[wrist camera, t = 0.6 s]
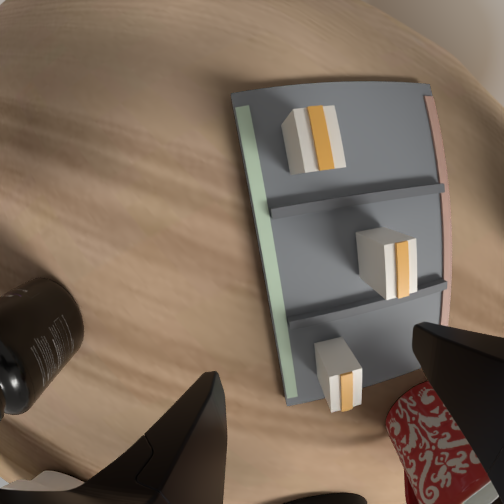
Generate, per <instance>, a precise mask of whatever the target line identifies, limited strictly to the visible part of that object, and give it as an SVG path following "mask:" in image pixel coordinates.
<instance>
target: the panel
mask: <svg viewBox="0 0 504 504" xmlns="http://www.w3.org/2000/svg"><path fill="white" fill-rule="evenodd" d="M231 100H232V105H233V111H234V116H235V121H236V127H237V132H238V137H239V142H240V148H241V153H242V159H243V164H244V169H245V175H246V180H247V185H248V191H249V196H250V202H251V207H252V213H253V218H254V224H255V229H256V235H257V240H258V246H259V251H260V257H261V262H262V268H263V274H264V279H265V285H266V290H267V296H268V302H269V307H270V313H271V319H272V324H273V330H274V336H275V341H276V347H277V353H278V359H279V364H280V370H281V376H282V382H283V388H284V394H285V399H286V404H287V406H291V405H296V404H301V403H306V402H310V401H315V400H319V399H323V398H325V395H324V393H323V390H322V388H321V385H320V383H319V380H318V377H317V368H316V358H315V348H314V343H317V342H321V341H326V340H330V339H334V338H338V337H343V339H344V340H345V342H346V343H347V345H348V347H349V348H350V350H351V351H352V353H353V354H354V356H355V358H356V359H357V361H358V362H359V364H360V365H361V367H362V388H364V387H367V386H370V385H374V384H377V383H380V382H383V381H386V380H389V379H392V378H395V377H398V376H401V375H404V374H406V373H409V372H412V371H414V370H417V369H420V368H421V366H420V364H419V362H418V360H417V358H416V357H415V355H414V353H413V350H412V335H413V327H414V325H415V324H418V323H421V322H430V323H434V324H439V325H443V326H448V321H449V310H450V298H451V279H452V225H451V207H450V194H449V184H448V175H447V167H446V159H445V152H444V146H443V140H442V134H441V129H440V124H439V119H438V114H437V110H436V105H435V101H434V97H433V96H432V92H431V88H430V84H422V83H407V82H381V81H352V82H325V83H310V84H298V85H287V86H278V87H270V88H262V89H255V90H248V91H242V92H236V93H231ZM319 105H323V106H331V105H334V106H335V110H336V115H337V120H338V124H339V129H340V134H341V140H342V145H343V150H344V156H345V162H346V167H344V168H336V169H329V170H321V171H314V172H307V173H301V174H294V175H290V170H289V165H288V159H287V154H286V148H285V143H284V138H283V133H282V128H281V124H282V123H283V122H284V120H285V119H286V118H287V116H288V115H289V114H290V112H291V111H292V110H293V109H298V108H307V107H308V106H319ZM380 227H385V228H388V229H391V230H394V231H397V232H400V233H403V234H405V235H408V236H411V237H414V238H416V245H417V292H414V293H411V294H409V296H406V297H403V298H399V299H398V298H397V297H396V298H393V299H389V300H386V299H384V298H383V297H382V296H381V295H380V294H378V293H377V292H376V291H375V290H374V289H373V288H371V287H370V286H369V285H368V284H367V283H365V282H364V281H363V280H362V279H361V278H360V277H359V264H358V252H357V242H356V232H358V231H364V230H369V229H374V228H380Z"/></svg>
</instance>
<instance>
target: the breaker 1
mask: <svg viewBox="0 0 504 504" xmlns="http://www.w3.org/2000/svg"><path fill="white" fill-rule="evenodd" d="M281 128H282V133H283V138H284V143H285V148H286V154H287V159H288V165H289V170H290V175H294V174H301V173H307V172H314V171H321V170H329V169H336V168H344V167H346V162H345V156H344V150H343V145H342V140H341V134H340V129H339V124H338V120H337V115H336V110H335V106H334V105H331V106H323V105H319V106H308V107H307V108H298V109H293V110H292V111H291V112H290V114H289V115H288V116H287V118H286V119H285V120H284V122H283V123H282V124H281Z"/></svg>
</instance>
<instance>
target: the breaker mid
mask: <svg viewBox="0 0 504 504" xmlns="http://www.w3.org/2000/svg"><path fill="white" fill-rule="evenodd" d="M356 242H357V252H358V264H359V277H360V278H361V279H362V280H363V281H364V282H365V283H367V284H368V285H369V286H370V287H371V288H373V289H374V290H375V291H376V292H377V293H378V294H380V295H381V296H382V297H383V298H384V299H386V300H389V299H393V298H396V297H397V298H398V299H399V298H403V297H406V296H409V294H411V293H414V292H417V245H416V238H414V237H411V236H408V235H405V234H403V233H400V232H397V231H394V230H391V229H388V228H385V227H380V228H374V229H369V230H364V231H358V232H356Z"/></svg>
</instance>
